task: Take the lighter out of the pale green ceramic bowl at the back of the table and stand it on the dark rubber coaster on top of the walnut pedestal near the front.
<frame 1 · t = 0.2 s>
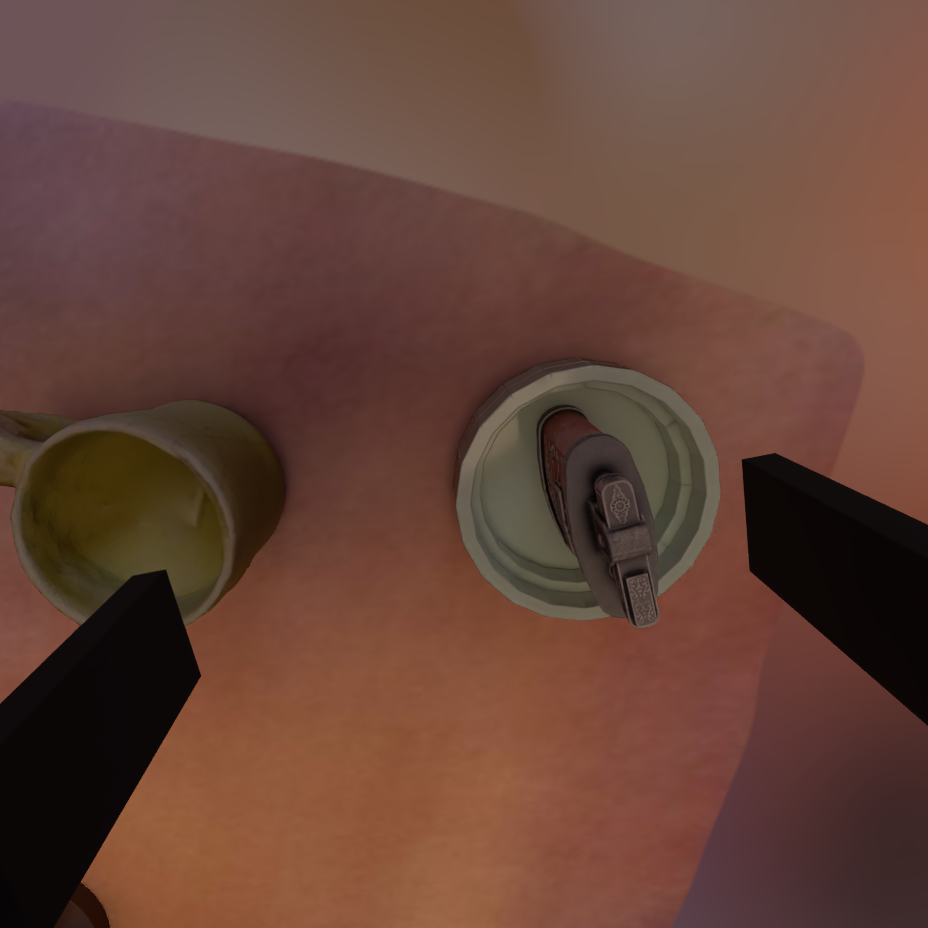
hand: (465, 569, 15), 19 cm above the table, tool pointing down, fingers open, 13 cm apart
bowl: (571, 476, 34), on the table
lighter: (573, 478, 34), resting on bowl
mug: (169, 463, 33), on the table
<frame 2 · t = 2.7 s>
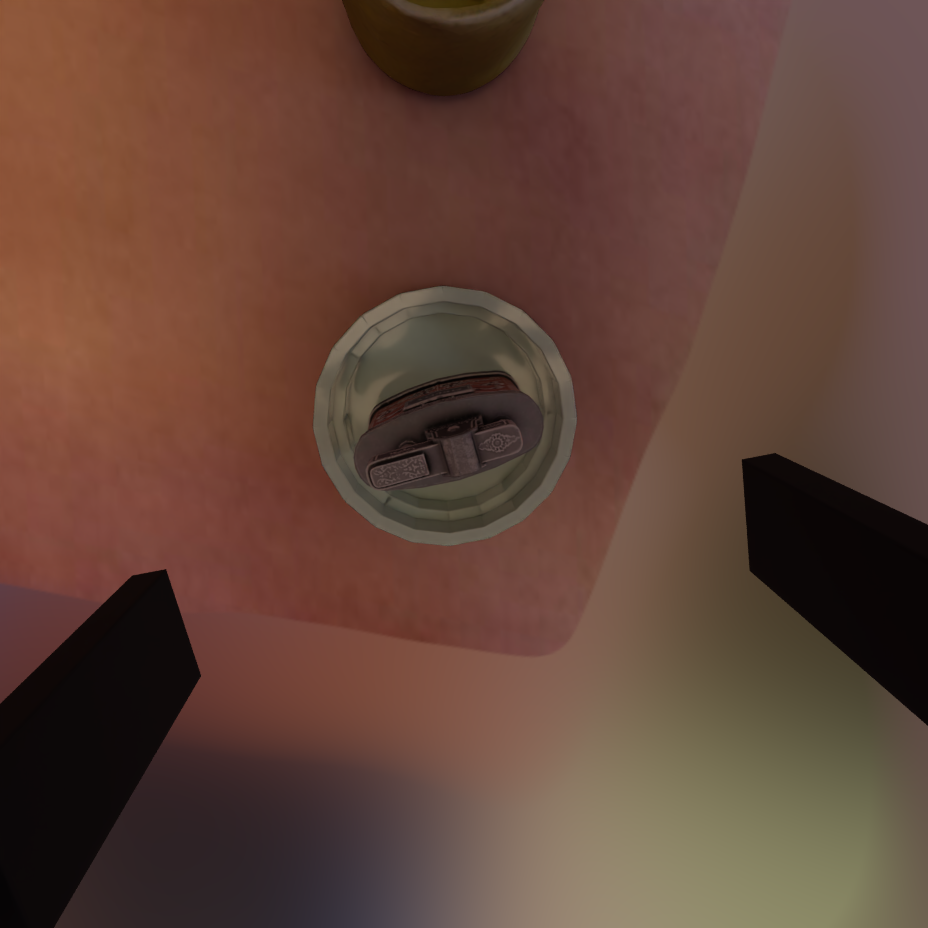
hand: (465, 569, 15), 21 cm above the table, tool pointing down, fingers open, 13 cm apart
bowl: (444, 407, 35), on the table
lighter: (444, 409, 34), resting on bowl
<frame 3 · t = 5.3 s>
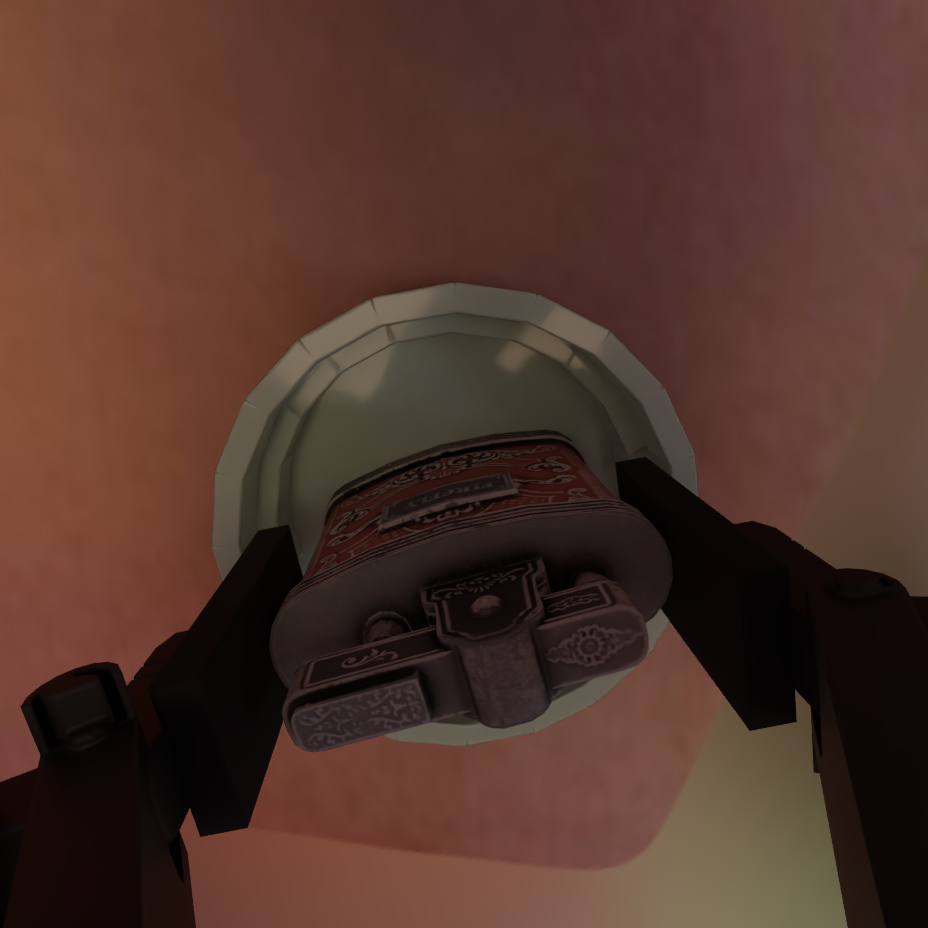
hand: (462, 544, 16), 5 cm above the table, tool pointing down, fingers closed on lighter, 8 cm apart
bowl: (454, 490, 21), on the table
lighter: (455, 494, 20), resting on bowl, touching gripper
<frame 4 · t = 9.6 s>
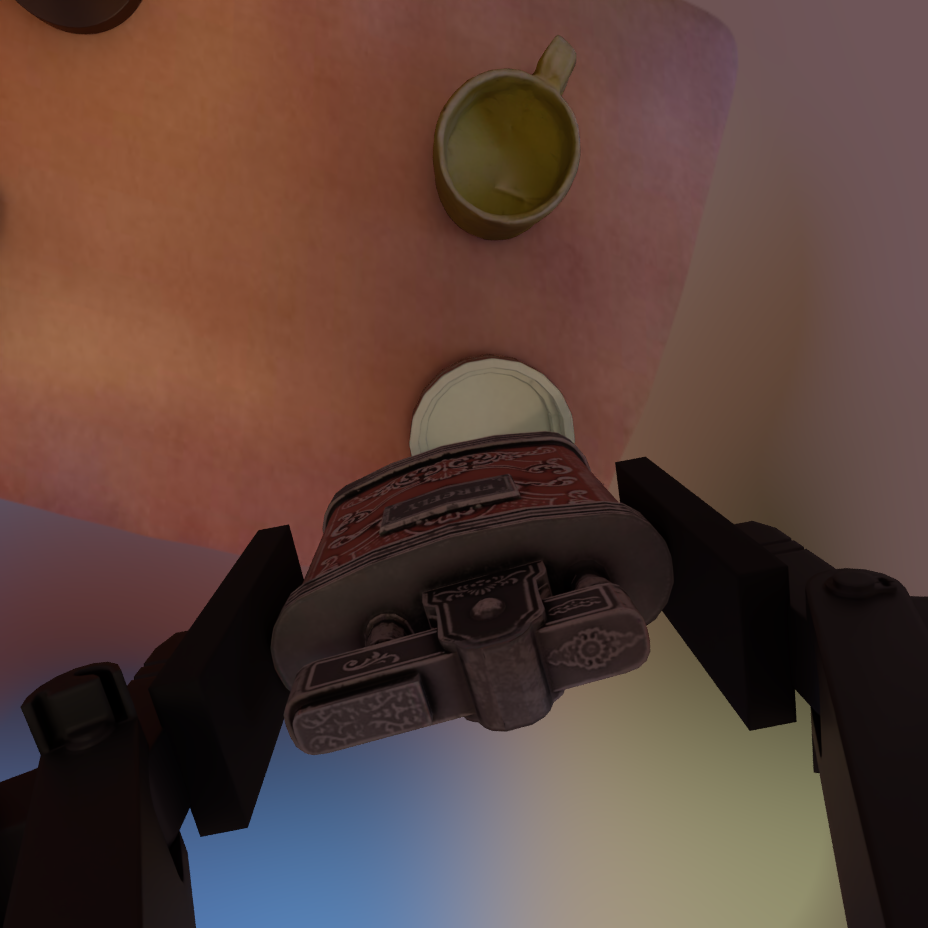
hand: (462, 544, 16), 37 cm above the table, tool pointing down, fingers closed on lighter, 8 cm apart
bowl: (487, 431, 53), on the table
lighter: (455, 495, 20), point 33 cm above the table, touching gripper
mug: (506, 155, 48), on the table
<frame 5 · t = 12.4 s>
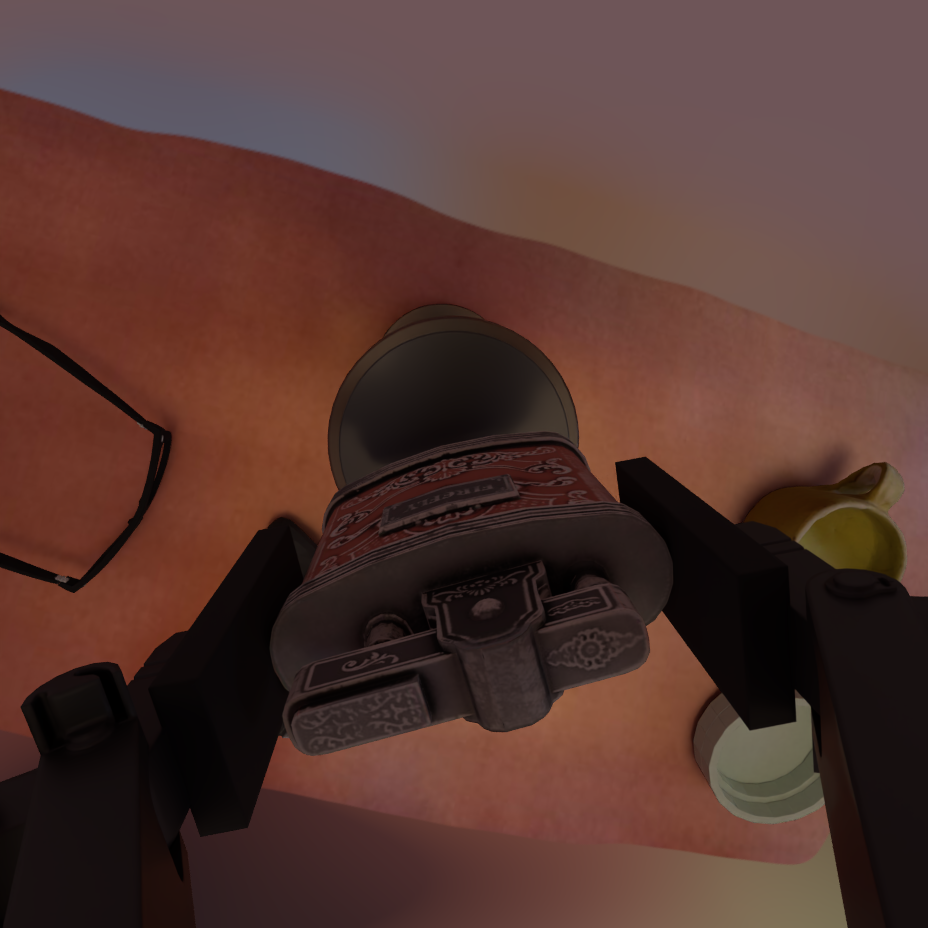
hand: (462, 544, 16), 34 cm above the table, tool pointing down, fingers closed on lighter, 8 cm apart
bowl: (758, 731, 59), on the table
stand: (455, 448, 25), on the table
lighter: (455, 496, 20), point 30 cm above the table, touching gripper
mug: (797, 513, 54), on the table
glasses: (48, 446, 49), on the table
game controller: (288, 612, 54), on the table
when the fingers open (28 cm above the table, at t = 14.3 s): lighter stays where it is, resting on stand.
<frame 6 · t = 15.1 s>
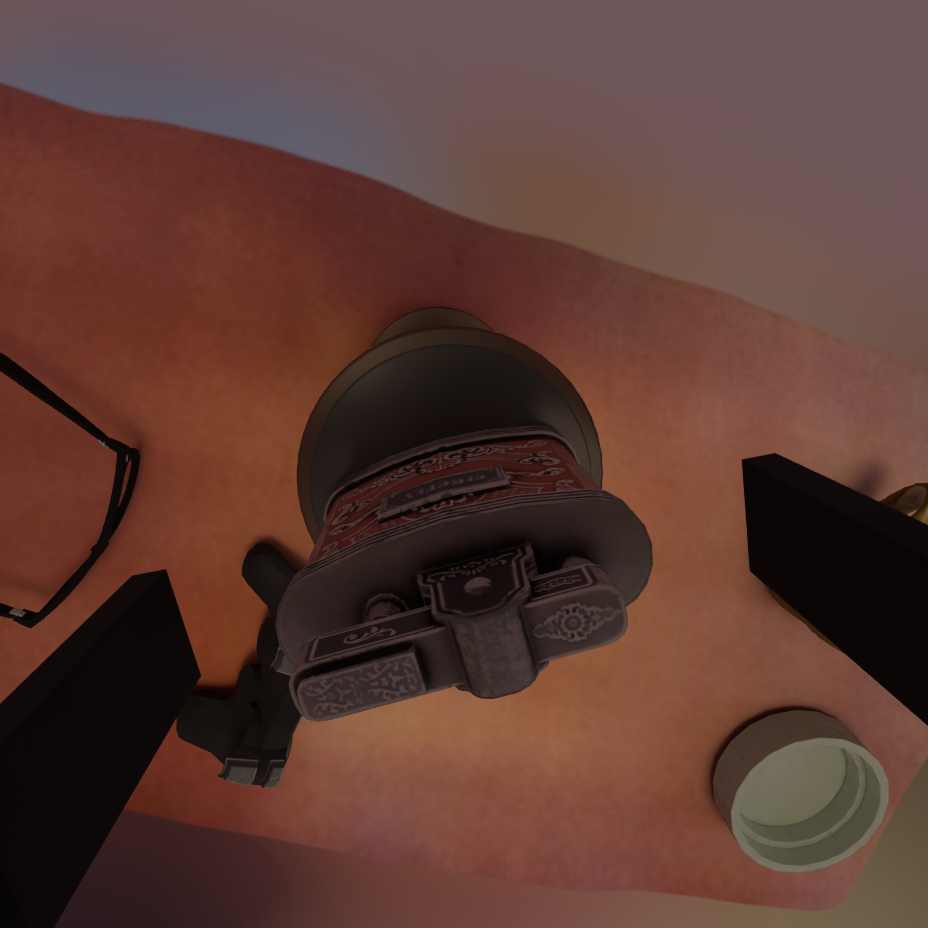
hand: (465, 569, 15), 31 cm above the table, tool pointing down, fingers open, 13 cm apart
bowl: (783, 770, 54), on the table
stand: (452, 488, 21), on the table
lighter: (451, 488, 21), point 24 cm above the table, touching stand
mug: (828, 536, 49), on the table
glasses: (3, 464, 44), on the table
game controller: (271, 645, 49), on the table
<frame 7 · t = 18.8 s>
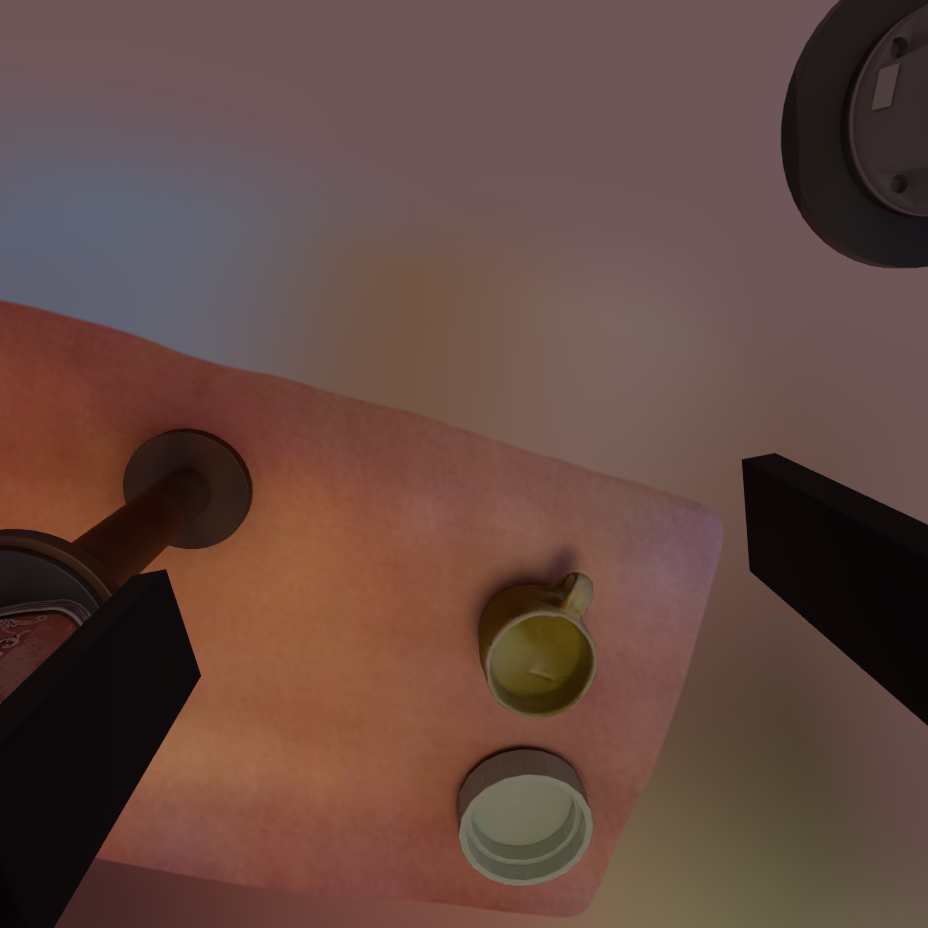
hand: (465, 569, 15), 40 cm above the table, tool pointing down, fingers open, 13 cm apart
bowl: (520, 799, 64), on the table
stand: (11, 639, 31), on the table
lighter: (13, 638, 31), point 24 cm above the table, touching stand
mug: (535, 606, 59), on the table
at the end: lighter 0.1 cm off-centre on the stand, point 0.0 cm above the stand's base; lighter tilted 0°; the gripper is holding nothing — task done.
